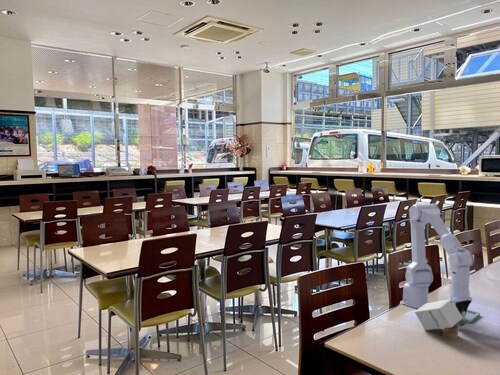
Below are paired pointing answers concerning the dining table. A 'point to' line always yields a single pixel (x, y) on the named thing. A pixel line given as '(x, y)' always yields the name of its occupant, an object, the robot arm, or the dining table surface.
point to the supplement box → (438, 314)
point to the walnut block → (451, 332)
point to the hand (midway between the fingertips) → (458, 319)
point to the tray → (471, 316)
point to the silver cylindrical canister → (462, 320)
